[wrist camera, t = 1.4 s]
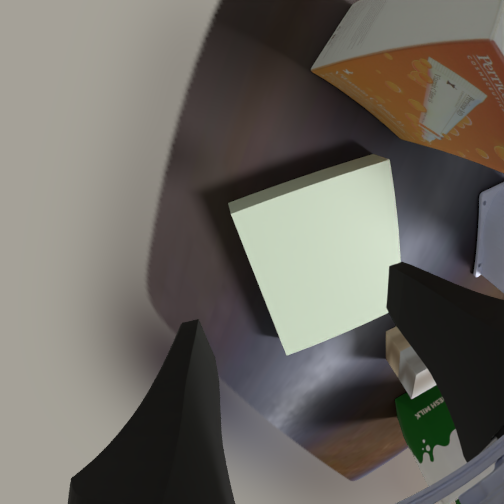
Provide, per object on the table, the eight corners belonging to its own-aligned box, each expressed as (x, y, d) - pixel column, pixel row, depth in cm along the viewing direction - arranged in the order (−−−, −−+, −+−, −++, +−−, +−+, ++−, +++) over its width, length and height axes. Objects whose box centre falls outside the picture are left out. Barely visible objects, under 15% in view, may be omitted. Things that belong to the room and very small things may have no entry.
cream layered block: (436, 330, 28) (466, 365, 22) (385, 358, 28) (411, 399, 22) (440, 301, 26) (475, 337, 20) (385, 330, 26) (416, 374, 20)
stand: (389, 292, 23) (401, 306, 22) (280, 338, 23) (286, 355, 22) (373, 153, 18) (389, 159, 16) (227, 203, 18) (230, 213, 16)
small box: (306, 71, 15) (490, 35, 3) (351, 3, 13) (510, -59, 1) (400, 142, 18) (566, 208, 6) (434, 77, 15) (591, 99, 4)
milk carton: (392, 421, 36) (441, 520, 19) (388, 399, 32) (450, 519, 15) (438, 392, 36) (494, 484, 18) (442, 365, 32) (514, 472, 14)
